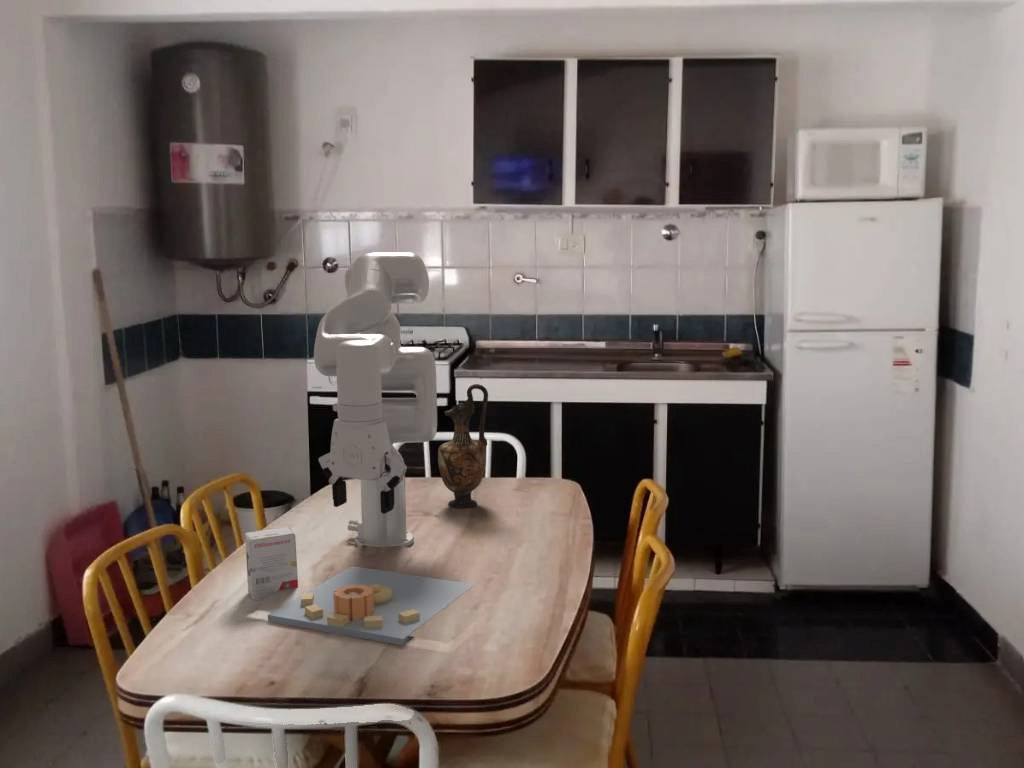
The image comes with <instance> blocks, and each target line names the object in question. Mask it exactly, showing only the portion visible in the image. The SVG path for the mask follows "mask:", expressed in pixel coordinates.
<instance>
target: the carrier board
mask: <svg viewBox="0 0 1024 768" xmlns="http://www.w3.org/2000/svg"><path fill="white" fill-rule="evenodd" d="M354 584H355V585H356V586H357V585H358V584H360V585H367V586H369V587H371V588H372V589H373V590H374V614H373V615H371V616H365V618H364V619H362V620H356V621H353V620H350V621H349V616H348V615H342V614H336V613H334V591H335V590H336V589H338V588H340V587H343V586H347V585H354ZM473 587H475V583H474V584H473V583H466V582H460V581H456V580H454V581H452V580H447V579H439V578H433V577H428V576H427V577H425V576H420V575H415V574H414V575H413V574H406V573H401V572H394V571H389V570H388V571H387V570H379V569H374V568H373V569H372V568H368V567H366V568H365V567H359V566H353V565H351V566H349V567H348V568H346V569H344V570H343V571H340V572H339V573H337V574H336V575H333V576H332V577H331V578H329V579H327V580H325V581H324V582H322V583H320V584H318V585H317V586H314V587H313V588H312V589H309V590H308V591H307V592H301V593H302V594H301V595H299V596H297V597H296V598H294V599H292V600H291V601H289V602H287V603H286V604H284V605H282V606H280V607H279V608H276V609H275V610H273V611H272V612H270V613H268V614H267V622H270V623H271V622H272V623H276V624H281V625H288V626H290V627H292V626H293V627H298V628H302V629H303V628H304V629H308V630H309V629H310V630H315V631H320V632H324V633H330V634H335V635H341V636H347V637H352V638H358V639H363V640H368V641H369V640H370V641H375V642H381V643H385V644H392V645H396V646H401V647H402V646H403V647H404V646H405V645H406V644H408V643H409V642H410V641H412V640H413V639H414V638H415V636H412V635H411V634H412V633H413V632H415V631H416V630H417V629H418V628H420V627H421V626H423V625H424V624H425V623H426V622H428V621H429V620H430V619H432V618H433V617H434V616H436V615H437V614H438V613H440V612H441V611H442V610H444V609H445V608H446V607H448V606H449V605H450V604H451V603H453V602H454V601H456V600H457V599H458V598H460V597H461V596H462V595H464V593H466V592H467V591H469V590H470V589H472V588H473ZM348 595H357V593H356V592H352V593H349V594H348Z"/></svg>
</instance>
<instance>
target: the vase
mask: <svg viewBox="0 0 1024 768" xmlns="http://www.w3.org/2000/svg"><path fill="white" fill-rule="evenodd" d="M474 389H475V390H480V391H481V392H482V393H483V400H482V403H481V405H482V406H481V410H480V418H479V426H478V427H479V428H478V440H477V441H476V440H474V439H473V438H471V434H470V420H471V417H472V415H473V414H474V413H475V409H476V408H475V407H476V406H475V402H474V396H473V390H474ZM466 396H467V399H466V400H465V401H464V402H459V403H458V404H455V405H454V406H452V407H451V409H449V410H447V409H446V410H445V411H444V414H445V416H446V417H450V418H451V419H452V421H453V424H454V428H453V429H454V431H453V436H452V439H451V440H450V441H447V442H444V443H442V444H441V445H440V446H438V447H439V448H438V450H437V463H438V468H439V473H440V477H441V480H442V482H443V484H444V485H445V488H447V489H448V490H449V491H451V492H452V493H453V495H454V499H452V500H450V501H448V503H447V505H448V507H449V508H453V509H468V508H473V507H475V506H477V505H478V501H476V500H475V499H472V492H473V491H474V490H476V489H477V488H478V487H479V486H480V484H481V483H482V480H483V477H484V475H485V470H486V463H487V451H486V447H487V446H488V441H487V439H486V436H485V423H486V416H487V415H486V414H487V408H488V401H489V393H488V390H487V388H486V387H485V386H484V385H482V384H479V383H475V384H472V385H470V386H469V387H468V389H467V391H466Z"/></svg>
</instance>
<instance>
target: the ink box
mask: <svg viewBox="0 0 1024 768" xmlns="http://www.w3.org/2000/svg"><path fill="white" fill-rule="evenodd" d="M244 535H245V555H246V557H245V558H246V576H247V592H248V595H249V596H250V597H251V599H252V600H253V601H259V600H264V599H265V598H268V597H269V596H271V595H273V594H275V593H277V592H278V591H284V590H289V589H295V588H299V580H298V579H299V578H298V577H299V576H298V560H297V559H298V558H297V542H296V539H297V538H296V534H295V532H294V531H293V530H292V529H291V527H290V526H286V527H280V528H273V529H264V530H263V529H262V530H258V531H257V530H256V531H250V532H245V534H244Z"/></svg>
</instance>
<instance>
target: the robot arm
mask: <svg viewBox="0 0 1024 768" xmlns="http://www.w3.org/2000/svg"><path fill="white" fill-rule="evenodd" d="M344 285H345V289H346V294H347V297H346V298H345V299H344V300H342V301H341V302H339V303H337V304H336V305H335V306H334V307H332V308H331V309H330V310H328V311H327V312H326V313H325V314H324V315H323V317H321V320H320V321H319V324H318V327H317V330H316V337H315V339H314V340H315V341H314V342H315V343H314V346H313V347H314V349H313V360H314V361H313V362H314V365H315V368H316V370H317V371H318V373H320V374H321V375H323V376H325V377H336V390H337V391H336V392H337V403H334V404H333V405H332V411H334V412H336V413H337V418H336V419H334V420H333V425H332V431H331V439H330V452H328V453H325V454H323V455H321V456H320V457H319V458H318V462H319V464H320V467H321V468H322V469H323V470H322V472H323V474H324V475H325V477H326V478H327V479H328V483H329V484H330V485H331V491H332V493H331V494H332V500H333V507H335V508H339V507H340V506H343V505H344V504H346V503H347V501H348V498H347V497H348V495H347V482H346V480H344V479H352V480H360V505H361V506H360V508H361V520H359V519H356V518H355V519H354V518H353V519H352V518H350V519H349V521H348V525H347V530H348V531H352V532H356V533H357V535H356V536H355V538H354V544H355V546H357V547H360V546H367V547H374V548H375V547H379V548H380V547H381V548H384V547H394V546H395V547H402V548H407V547H409V546H410V545H412V544H413V543H414V540H415V537H414V534H413V533H411V532H410V531H408V530H407V510H406V509H407V506H406V505H407V503H406V502H407V500H406V496H407V495H406V477H405V476H406V472H407V469H408V467H407V465H406V464H405V460H404V458H403V457H402V454H401V453H400V452H399V451H398V450H397V449H396V447H395V446H394V445H393V444H400V443H403V444H405V443H406V444H407V443H408V444H410V443H411V444H412V443H428V442H430V441H432V440H434V438H435V437H436V435H437V430H438V396H437V392H438V391H437V388H438V387H437V366H436V359H435V357H434V354H433V352H432V351H431V350H430V349H429V348H427V347H424V346H402V345H401V325H400V322H399V320H398V318H397V317H396V315H395V314H394V313H393V311H392V305H395V304H396V305H397V304H398V305H399V304H401V305H403V304H404V305H406V304H411V305H412V304H420V303H423V302H425V300H426V299H427V297H428V294H429V289H430V279H429V274H428V270H427V268H426V264H425V263H424V260H423V259H422V258H421V256H419V254H418V255H417V254H416V253H414V252H369V253H364V254H362V255H360V256H358V257H357V258H356V259H355V260H354V262H352V266H350V267H349V268H347V269H346V271H345V274H344ZM382 392H383V393H385V392H386V393H387V392H393V393H395V392H398V393H399V392H403V393H405V392H409V393H410V392H411V393H413V394H414V395H416V397H382V396H383V395H382Z"/></svg>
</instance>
